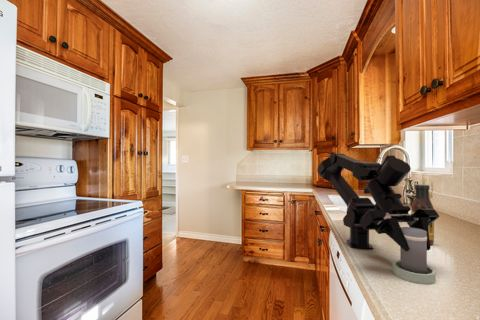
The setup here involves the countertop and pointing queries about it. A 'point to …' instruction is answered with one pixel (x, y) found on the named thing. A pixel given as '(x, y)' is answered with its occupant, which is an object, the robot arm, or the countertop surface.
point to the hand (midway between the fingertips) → (418, 250)
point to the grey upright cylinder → (414, 251)
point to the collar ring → (414, 274)
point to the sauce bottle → (423, 205)
